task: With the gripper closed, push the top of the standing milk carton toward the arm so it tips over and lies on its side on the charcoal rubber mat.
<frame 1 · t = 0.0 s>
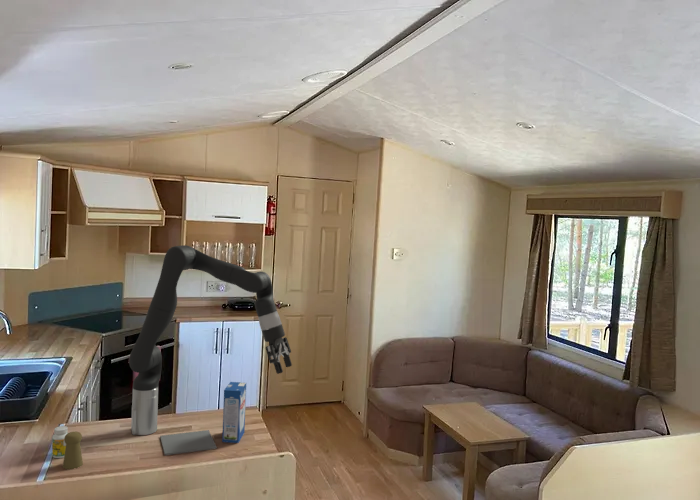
hand: (284, 369, 196), 31 cm above the counter, tool tilted 20°, fingers open, 8 cm apart
cork: (72, 465, 183), on the counter
milk carton: (233, 437, 212), on the counter
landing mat: (187, 442, 205), on the counter
supplement bottle: (60, 455, 190), on the counter
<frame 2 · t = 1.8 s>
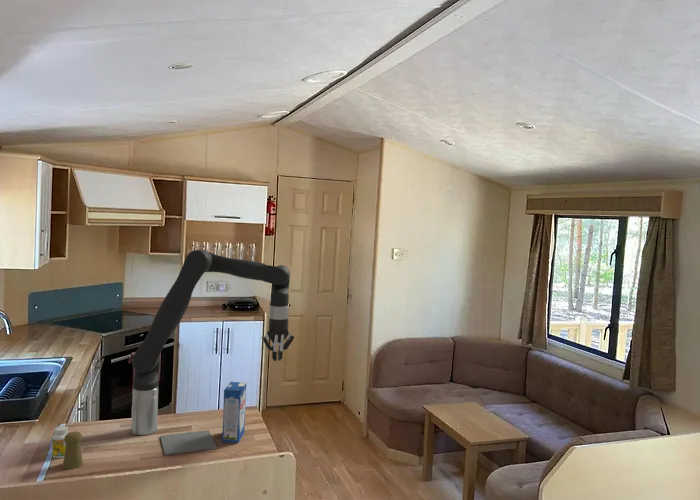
hand: (276, 360, 216), 29 cm above the counter, tool pointing down, fingers closed
nothing on the counter moved.
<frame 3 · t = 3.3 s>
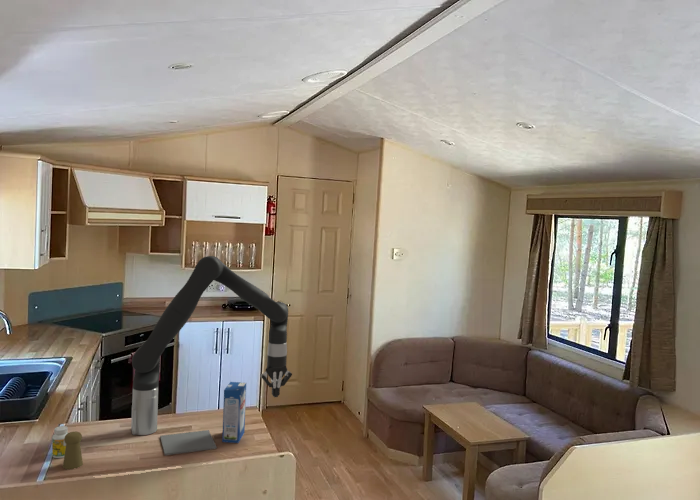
hand: (275, 396, 217), 14 cm above the counter, tool pointing down, fingers closed
nothing on the counter moved.
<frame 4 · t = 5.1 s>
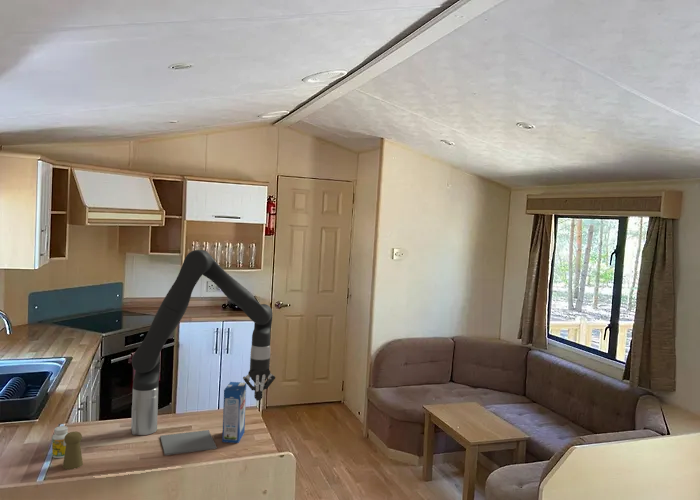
hand: (258, 399, 215), 14 cm above the counter, tool pointing down, fingers closed
nothing on the counter moved.
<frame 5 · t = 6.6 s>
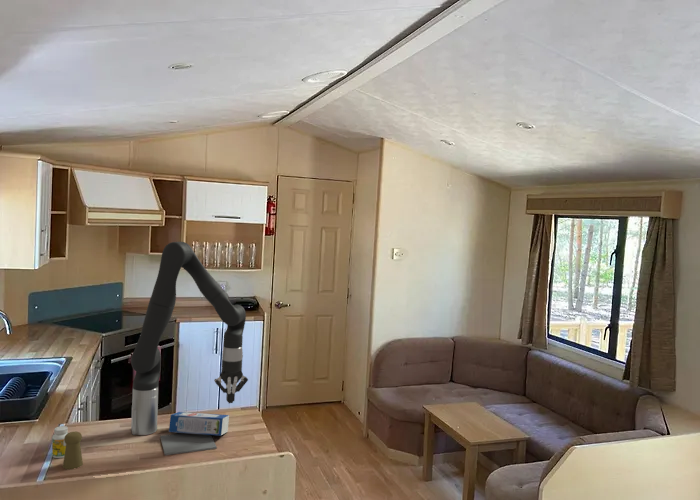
hand: (230, 402, 210), 14 cm above the counter, tool pointing down, fingers closed
milk carton: (225, 425, 212), point 4 cm above the counter
everything else where it was.
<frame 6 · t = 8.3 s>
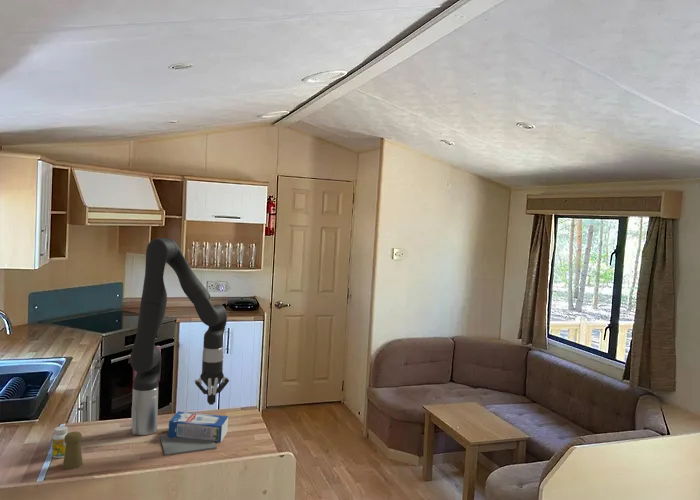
hand: (211, 403, 207), 14 cm above the counter, tool pointing down, fingers closed
milk carton: (225, 429, 211), point 3 cm above the counter, touching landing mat
everything else where it was.
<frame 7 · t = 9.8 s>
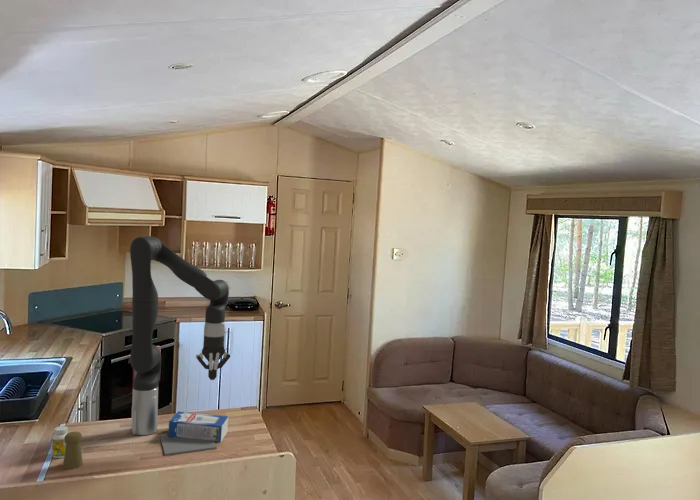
hand: (212, 379, 206), 23 cm above the counter, tool pointing down, fingers closed
nothing on the counter moved.
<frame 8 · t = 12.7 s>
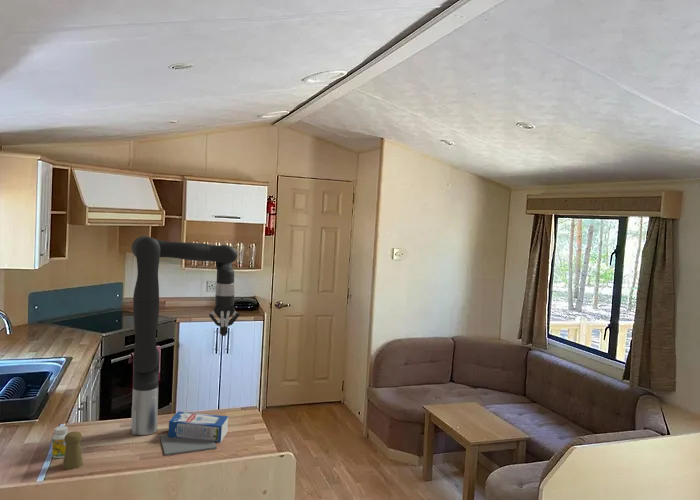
hand: (223, 335, 227), 35 cm above the counter, tool pointing down, fingers closed
nothing on the counter moved.
at the end: milk carton tilted 88°; milk carton inside the target area (1.3 cm from its centre), point 3.1 cm above the counter; milk carton touching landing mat, counter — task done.
